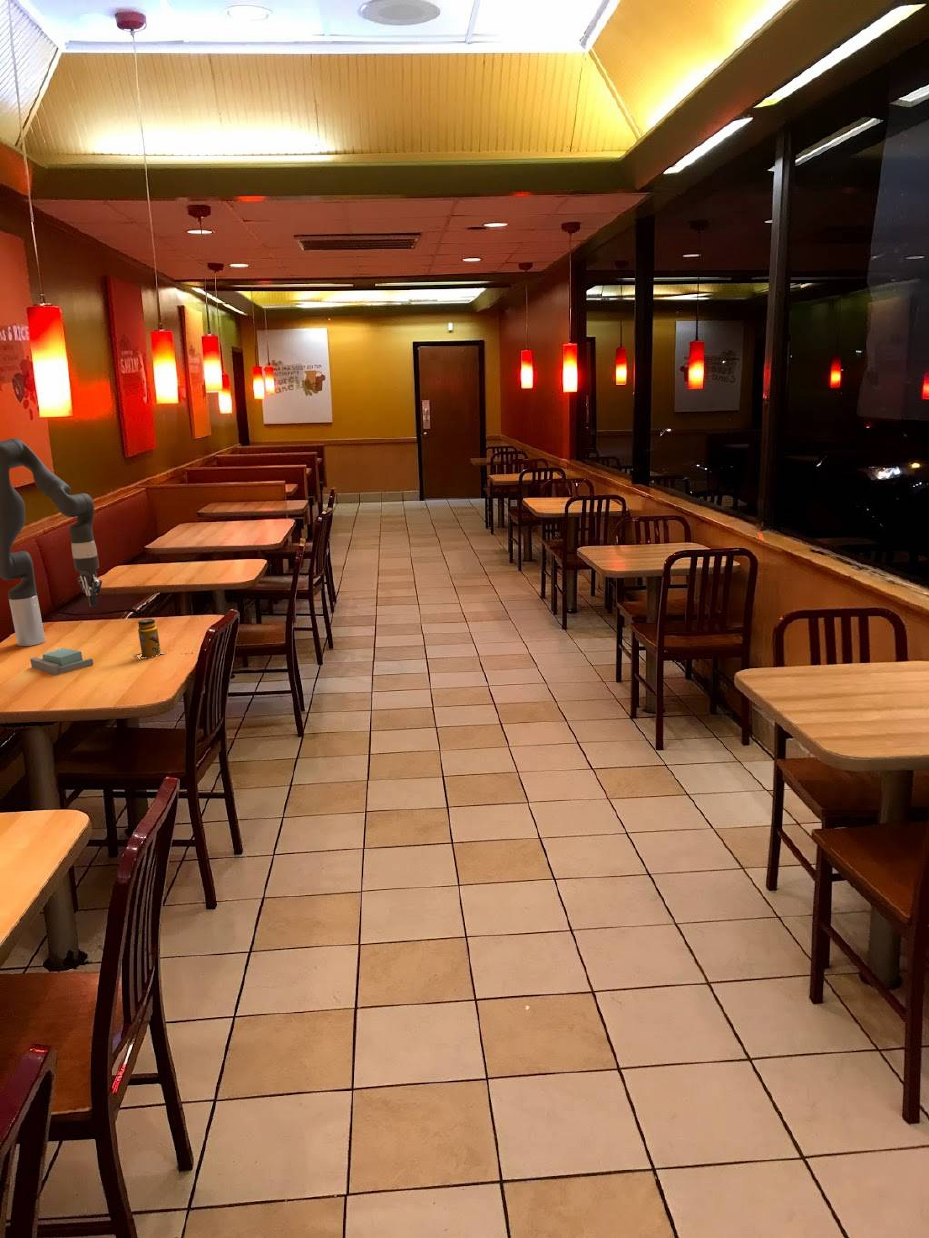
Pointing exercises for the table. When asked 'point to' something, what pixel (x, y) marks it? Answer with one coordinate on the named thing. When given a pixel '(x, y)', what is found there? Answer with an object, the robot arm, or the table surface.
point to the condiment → (148, 638)
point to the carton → (63, 656)
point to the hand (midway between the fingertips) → (93, 606)
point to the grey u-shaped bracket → (55, 668)
